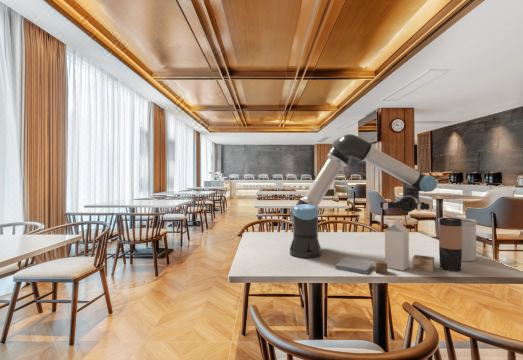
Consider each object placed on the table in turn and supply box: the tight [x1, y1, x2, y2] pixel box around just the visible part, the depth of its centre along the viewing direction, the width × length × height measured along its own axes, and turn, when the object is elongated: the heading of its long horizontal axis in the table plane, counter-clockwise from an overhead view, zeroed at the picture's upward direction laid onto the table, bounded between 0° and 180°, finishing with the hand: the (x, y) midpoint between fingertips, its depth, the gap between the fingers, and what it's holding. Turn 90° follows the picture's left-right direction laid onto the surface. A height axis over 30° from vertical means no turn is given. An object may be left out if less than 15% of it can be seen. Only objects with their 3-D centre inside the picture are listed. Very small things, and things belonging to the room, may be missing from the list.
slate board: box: [334, 258, 375, 275], centre depth 117 cm, size 12×12×2 cm
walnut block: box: [374, 259, 388, 275], centre depth 111 cm, size 4×4×4 cm
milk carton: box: [384, 219, 410, 271], centre depth 117 cm, size 7×7×19 cm
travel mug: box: [438, 217, 463, 272], centre depth 115 cm, size 8×8×20 cm
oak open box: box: [411, 254, 435, 273], centre depth 116 cm, size 7×7×4 cm
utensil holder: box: [437, 217, 478, 262], centre depth 132 cm, size 15×15×18 cm
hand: (400, 207), depth 125 cm, fingers open, 13 cm apart
